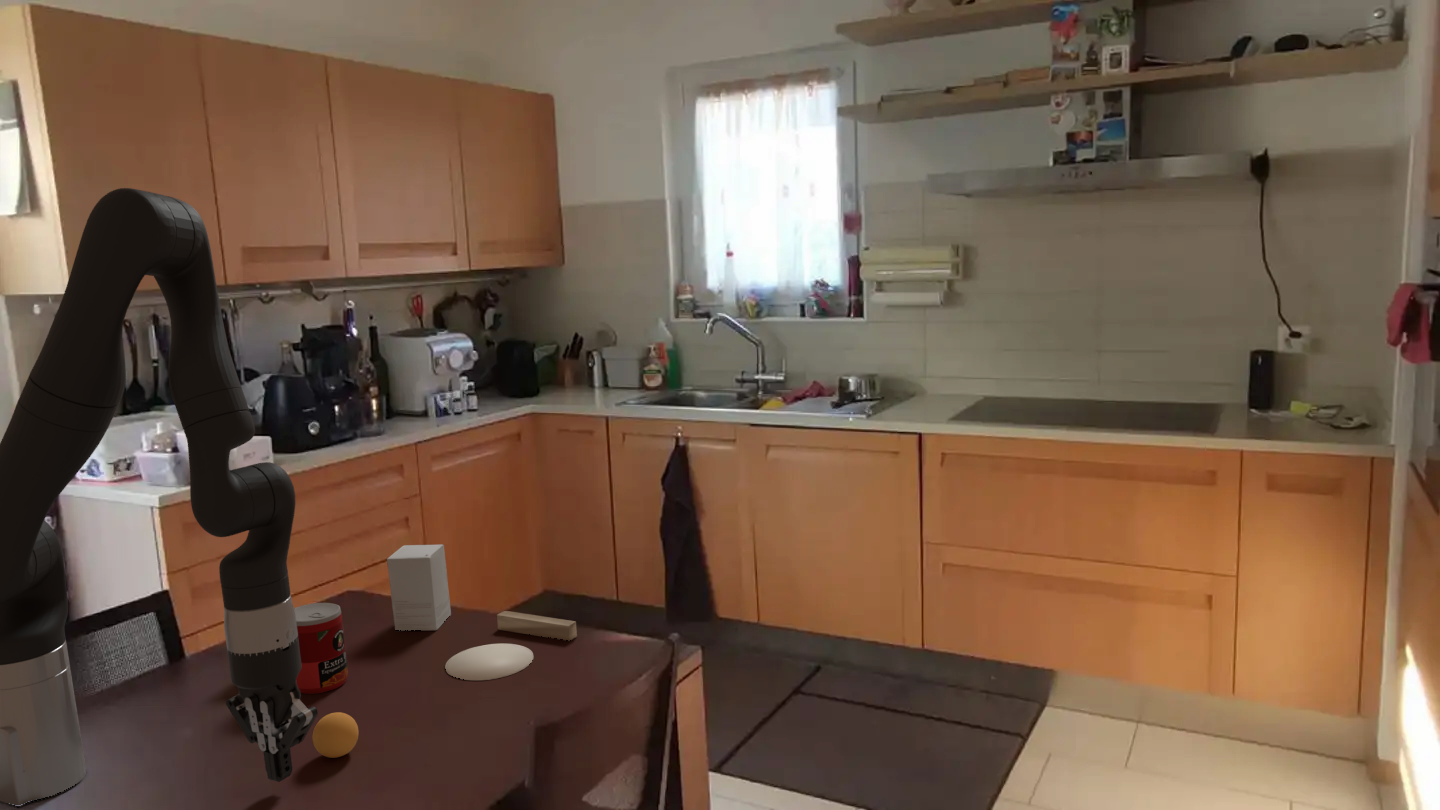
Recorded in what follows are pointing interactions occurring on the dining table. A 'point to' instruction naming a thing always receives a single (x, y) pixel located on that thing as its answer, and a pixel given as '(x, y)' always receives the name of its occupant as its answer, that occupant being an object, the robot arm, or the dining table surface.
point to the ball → (335, 735)
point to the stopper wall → (537, 625)
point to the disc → (489, 661)
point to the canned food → (321, 648)
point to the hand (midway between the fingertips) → (280, 777)
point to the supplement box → (419, 587)
